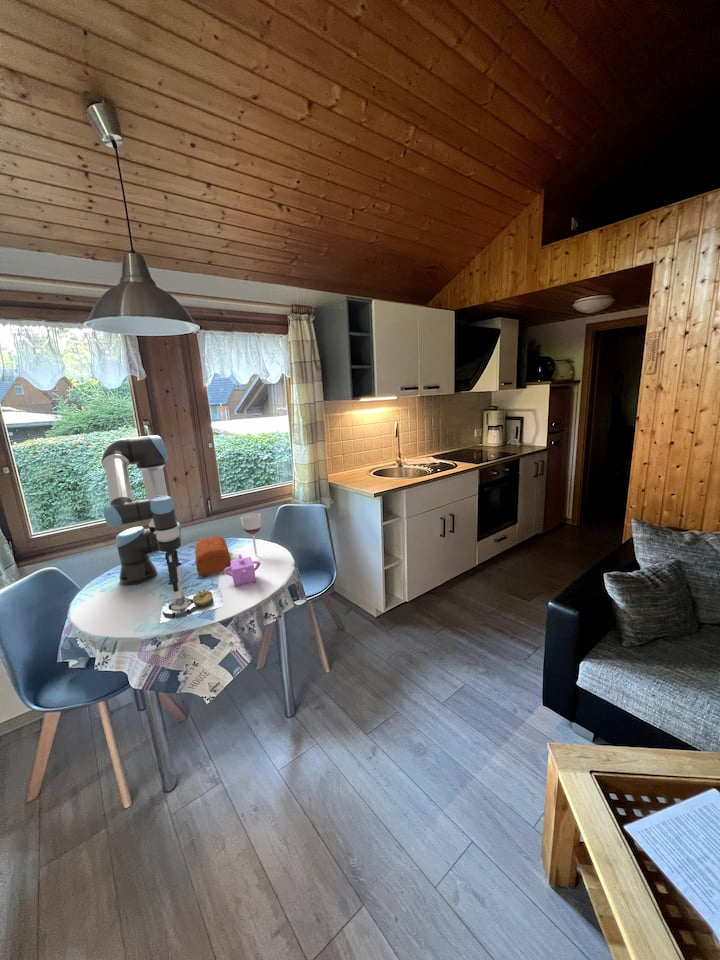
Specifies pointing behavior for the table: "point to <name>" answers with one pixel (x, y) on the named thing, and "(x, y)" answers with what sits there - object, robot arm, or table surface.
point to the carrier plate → (190, 607)
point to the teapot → (243, 571)
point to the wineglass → (252, 530)
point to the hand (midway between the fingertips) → (178, 590)
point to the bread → (212, 556)
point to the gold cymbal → (203, 598)
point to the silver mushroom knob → (181, 602)
